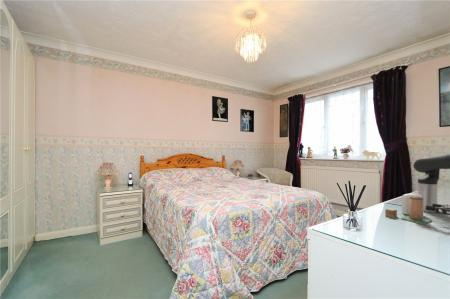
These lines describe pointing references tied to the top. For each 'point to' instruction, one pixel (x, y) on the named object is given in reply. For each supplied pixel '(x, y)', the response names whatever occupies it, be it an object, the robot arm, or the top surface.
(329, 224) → the top surface
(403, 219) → the green mat
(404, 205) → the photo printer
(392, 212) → the letter block
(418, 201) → the canister
